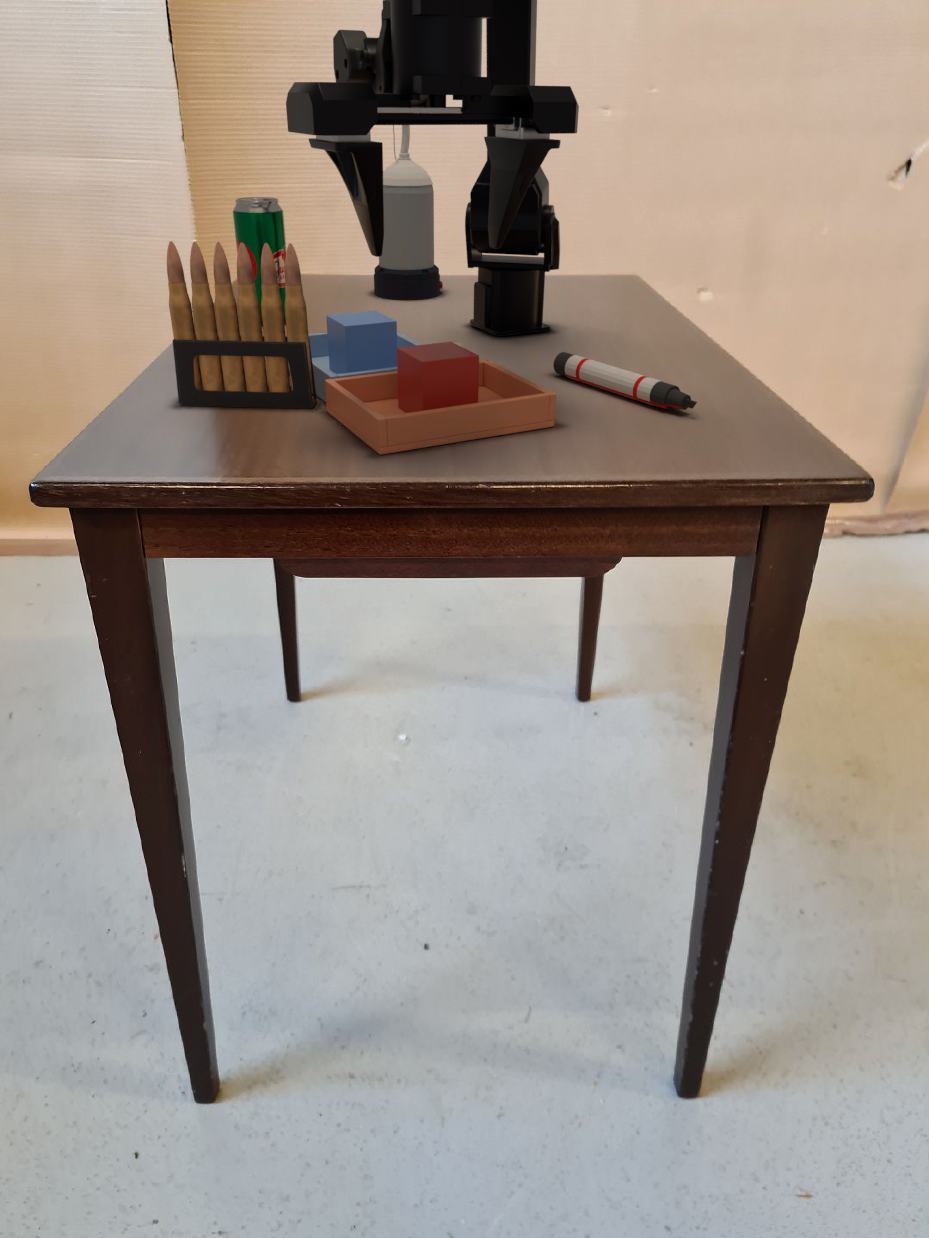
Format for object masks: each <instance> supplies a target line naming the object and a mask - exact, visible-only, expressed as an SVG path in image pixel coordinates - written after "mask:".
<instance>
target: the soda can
mask: <svg viewBox="0 0 929 1238" xmlns="http://www.w3.org/2000/svg"><path fill="white" fill-rule="evenodd" d="M234 202H235V205H234V207H233V210H232V219H233V228H234V236H235V237H234V238H235V245H236V255H238V249H239V245H240V243H241V242H242V243H244V245H245V247H246V249H247V251H248V254H249V257H250V261H251V265H252V270H253V277H254V283H255V289H256V295H257V298H258V302H259V306H260V316H261V325H262V326H263V322H262V312H261V300H262V287H261V284H262V281H261V256H262V250H263V246H264V244H265V243H267V244H268V245H269V247H270V249H271V252H272V255H273V258H274V261H275V266H276V271H277V280H278V285H279V293H280V297H281V301H282V304H283V314H284V324H286V318H285V297H286V293H285V258H286V251H287V241H286V240H287V238H286V228H285V227H286V226H285V216H284V214H285V213H284V210H283V208H282V207H281V205H280V203H279V202H280V200H279V198H276V197H269V196H248V197H247V196H246V197H245V196H244V197H239V198H236V199H235V200H234Z"/></svg>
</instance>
